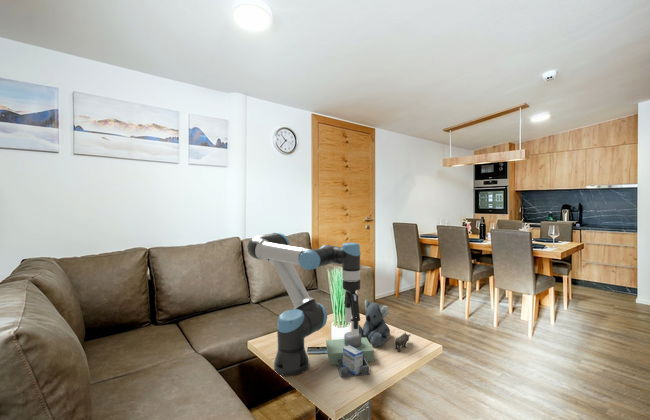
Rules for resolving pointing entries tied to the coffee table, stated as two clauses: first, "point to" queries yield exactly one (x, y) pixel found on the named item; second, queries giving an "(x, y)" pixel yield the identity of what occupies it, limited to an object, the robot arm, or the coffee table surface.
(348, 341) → the sage green box
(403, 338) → the rhino figurine
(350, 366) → the medicine box
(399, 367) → the coffee table surface
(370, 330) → the koala plush
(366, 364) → the chute bracket
